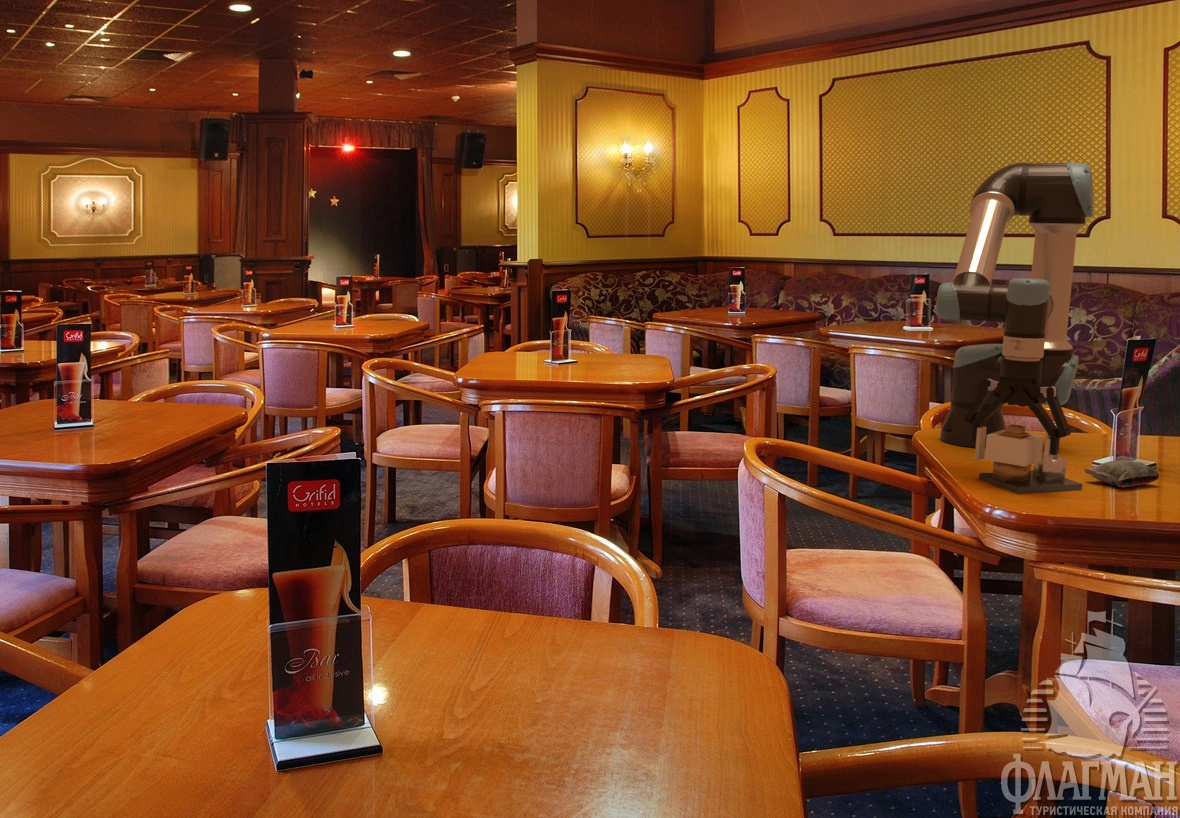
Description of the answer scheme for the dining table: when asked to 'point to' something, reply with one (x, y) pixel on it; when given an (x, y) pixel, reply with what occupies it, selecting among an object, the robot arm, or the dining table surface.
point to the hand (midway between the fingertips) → (1012, 464)
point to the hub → (1012, 464)
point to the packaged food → (1124, 473)
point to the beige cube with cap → (1013, 449)
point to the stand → (1057, 468)
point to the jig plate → (1033, 484)
